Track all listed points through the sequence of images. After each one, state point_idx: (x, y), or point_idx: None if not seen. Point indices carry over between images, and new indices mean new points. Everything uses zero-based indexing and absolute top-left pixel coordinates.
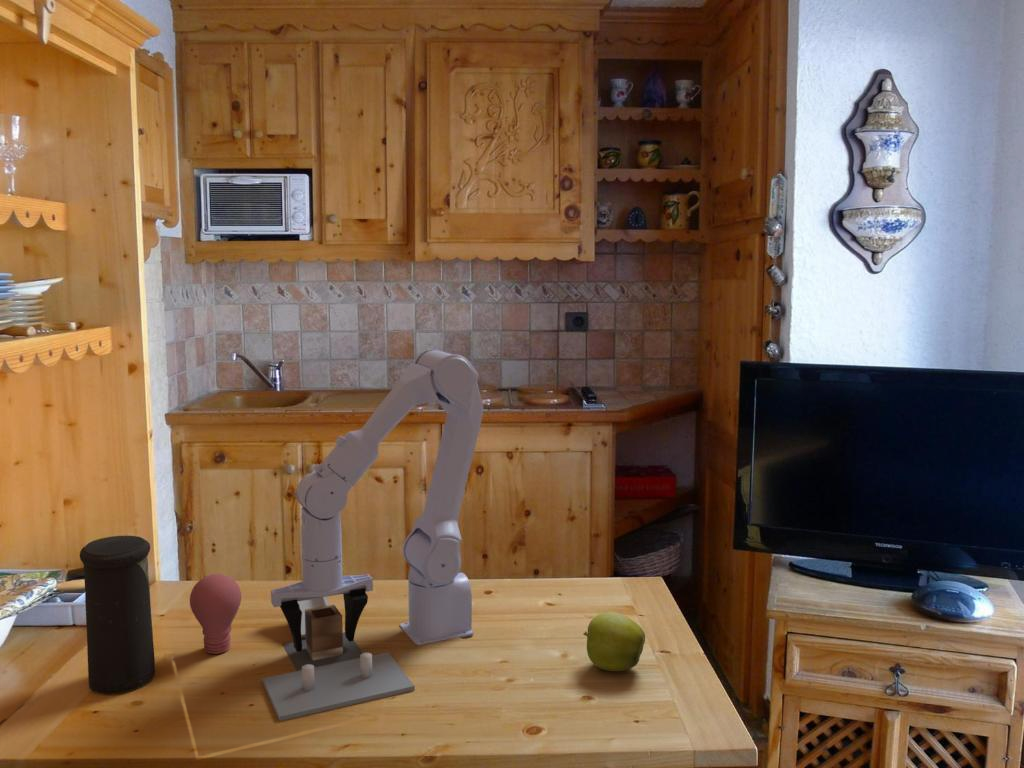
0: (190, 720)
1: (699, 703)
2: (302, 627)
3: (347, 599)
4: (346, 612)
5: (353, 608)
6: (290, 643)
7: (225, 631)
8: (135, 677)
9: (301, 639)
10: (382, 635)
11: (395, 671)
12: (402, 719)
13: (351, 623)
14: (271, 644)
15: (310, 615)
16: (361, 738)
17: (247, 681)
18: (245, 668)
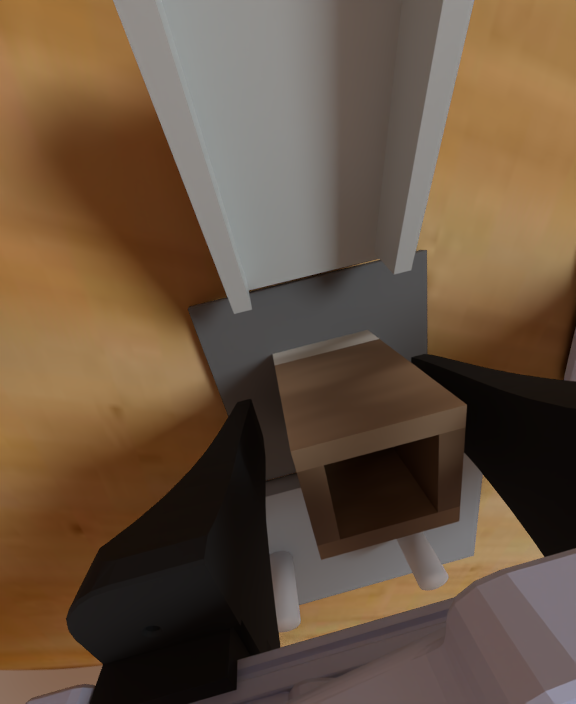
0: (48, 602)
1: None
2: (261, 249)
3: (566, 491)
4: (487, 407)
5: (536, 534)
6: (217, 308)
7: None
8: None
9: (265, 478)
10: (517, 284)
11: (464, 514)
12: (417, 593)
13: (465, 452)
14: (141, 275)
15: (318, 512)
16: (350, 625)
17: (125, 489)
18: (96, 429)
